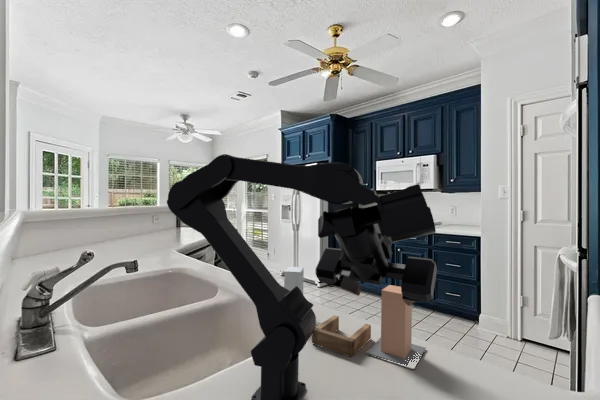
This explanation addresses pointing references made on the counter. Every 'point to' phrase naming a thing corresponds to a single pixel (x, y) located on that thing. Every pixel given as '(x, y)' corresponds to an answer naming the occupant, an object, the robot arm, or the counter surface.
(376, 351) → the mat
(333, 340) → the u-shaped frame
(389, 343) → the block
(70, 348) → the counter surface
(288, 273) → the skincare box
